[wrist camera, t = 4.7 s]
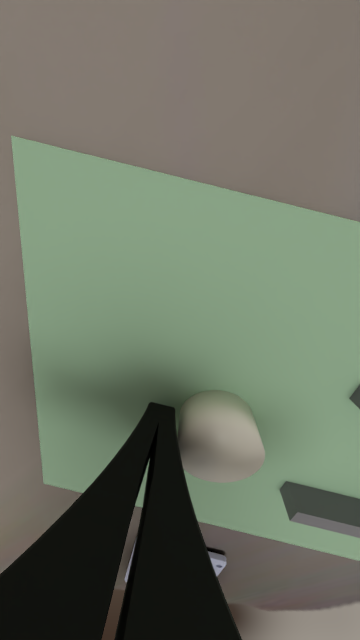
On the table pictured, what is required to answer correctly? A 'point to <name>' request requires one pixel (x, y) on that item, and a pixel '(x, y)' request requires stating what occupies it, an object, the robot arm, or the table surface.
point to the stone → (219, 437)
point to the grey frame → (323, 503)
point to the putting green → (190, 328)
